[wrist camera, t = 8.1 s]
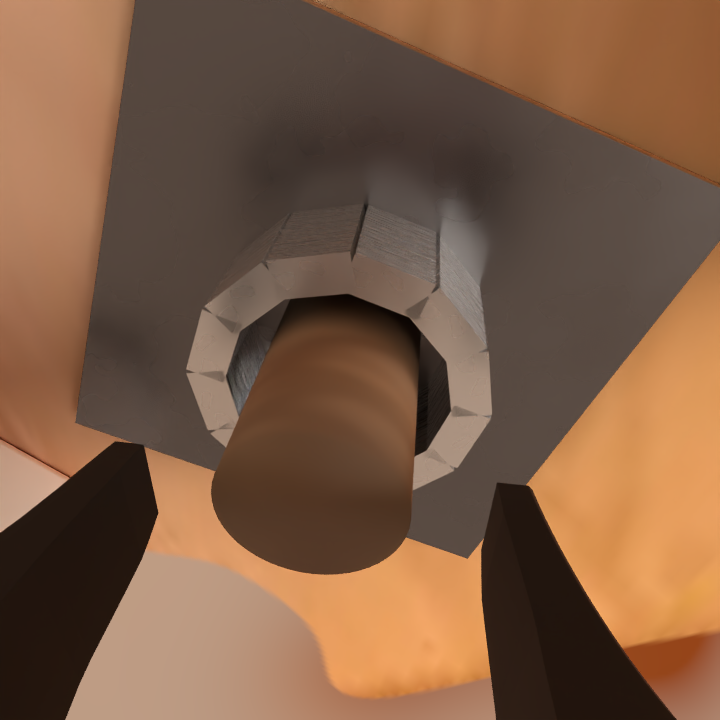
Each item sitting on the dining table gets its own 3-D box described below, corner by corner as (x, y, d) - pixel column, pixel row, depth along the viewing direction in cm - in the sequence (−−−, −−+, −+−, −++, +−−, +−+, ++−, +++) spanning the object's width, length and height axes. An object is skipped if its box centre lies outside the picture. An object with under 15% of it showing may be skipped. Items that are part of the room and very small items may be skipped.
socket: (740, 193, 15) (813, 253, 12) (467, 545, 24) (470, 632, 21) (156, -70, 13) (76, -73, 11) (83, 412, 22) (27, 485, 19)
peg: (425, 270, 17) (417, 441, 11) (416, 389, 19) (405, 583, 13) (281, 262, 17) (198, 423, 11) (288, 379, 19) (223, 564, 13)
